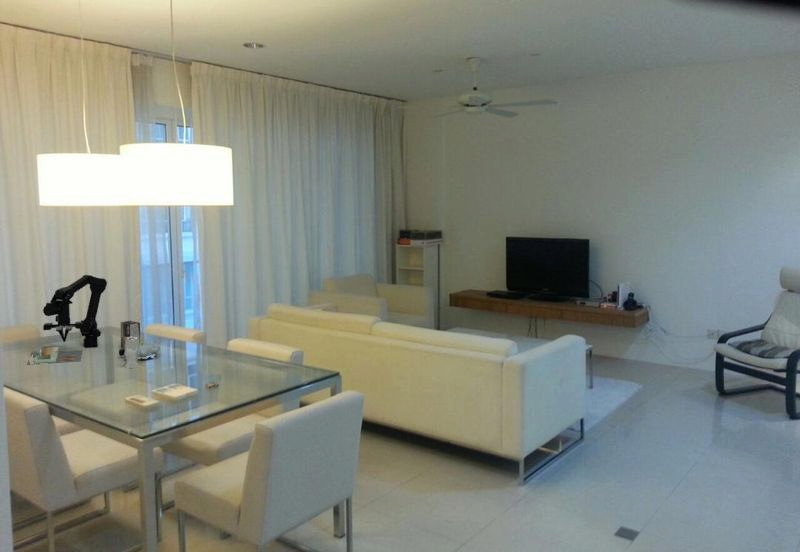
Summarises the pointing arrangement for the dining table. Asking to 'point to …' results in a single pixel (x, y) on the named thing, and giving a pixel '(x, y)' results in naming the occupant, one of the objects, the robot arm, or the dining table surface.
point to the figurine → (144, 350)
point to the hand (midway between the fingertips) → (64, 341)
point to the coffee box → (129, 331)
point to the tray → (39, 359)
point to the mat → (67, 353)
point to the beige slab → (53, 350)
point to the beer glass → (132, 350)
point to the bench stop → (36, 351)
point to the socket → (68, 357)
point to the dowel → (45, 353)
